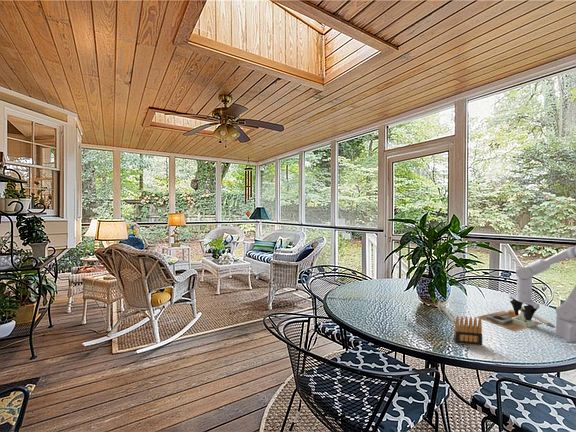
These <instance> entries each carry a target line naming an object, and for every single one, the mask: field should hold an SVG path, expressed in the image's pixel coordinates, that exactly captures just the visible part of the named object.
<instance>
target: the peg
mask: <svg viewBox="0 0 576 432" xmlns="http://www.w3.org/2000/svg"><path fill="white" fill-rule="evenodd" d="M518 320H520V321H523V322H526V323H527V320H526V312H525V309H522V308H521V309H520V310H518Z"/></svg>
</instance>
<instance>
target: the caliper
mask: <svg viewBox="0 0 576 432" xmlns="http://www.w3.org/2000/svg"><path fill="white" fill-rule="evenodd" d="M437 303H438V304H437V309H438V311H440V310H441V311H442V312H443V313H445V315H446V316H447V318H448V319H449V320H450V322H451V323H453V325H455V323H456V319H454V318H453V316H452V315H451V313H450V311H448V310H447V308H446V306H445V305H444V304H443V301H442V299H439V300H438V302H437Z"/></svg>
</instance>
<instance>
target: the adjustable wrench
mask: <svg viewBox="0 0 576 432" xmlns="http://www.w3.org/2000/svg"><path fill="white" fill-rule="evenodd" d="M521 308H522V309H525V308H524V306H522V307H521ZM534 318H535V320H536V319H537V320H536V321H538V320H539V321H538V322H540V323H541V322H542V323H544V324H543V325H546V326H547V327H549V326H550V327H549V328H553V327H554V323H552V322H550V321H549V320H546V319H544V318H543V317H541V316H539V315H537V314H535V313H534V314H533V316H532V319H534Z"/></svg>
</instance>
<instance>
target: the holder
mask: <svg viewBox="0 0 576 432" xmlns="http://www.w3.org/2000/svg"><path fill="white" fill-rule="evenodd" d="M504 315H508V311H506V310H501V311H500V310H499V311H497V312H496V311H495V312H493V313H492V312H491V313H488V314H483V315H478V316H476V319H479V317H480V318H481V321H485V322H488V323H490V324H492V325H496V326H498V327H502V328H503V329H507V330H509V331H512V332H514V333H515V332H518V331H522V330H526V329H530V328H532V327H537V326H540V325H544V324H543V323H541V322H540V321H538V320H534V321H535V325H534V326H530V327H524V326H521V325H518V324H515V323H513V320H512V319H511V318H513V317H515V316H513V317H509V318H505V320H502V319H500V316H504Z"/></svg>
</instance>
